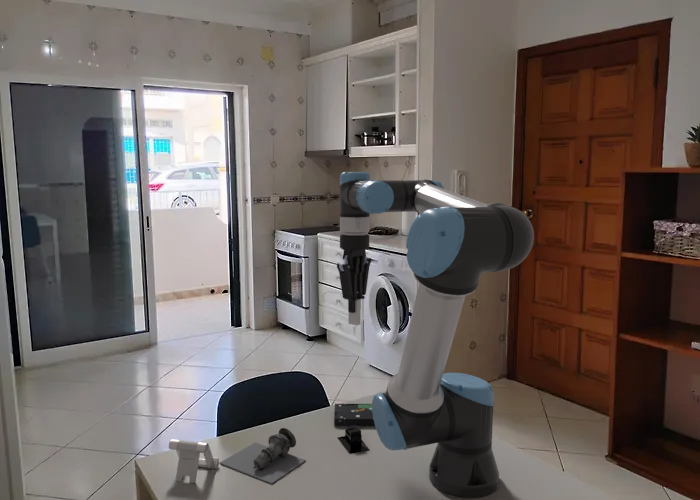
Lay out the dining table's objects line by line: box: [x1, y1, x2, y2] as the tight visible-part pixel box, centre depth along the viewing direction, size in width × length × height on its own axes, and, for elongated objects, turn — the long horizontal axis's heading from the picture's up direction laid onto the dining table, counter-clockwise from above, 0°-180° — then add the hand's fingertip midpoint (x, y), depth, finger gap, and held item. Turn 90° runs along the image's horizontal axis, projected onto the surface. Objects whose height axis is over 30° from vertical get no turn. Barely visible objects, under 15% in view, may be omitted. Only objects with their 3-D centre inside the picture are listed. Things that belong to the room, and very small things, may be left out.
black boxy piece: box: [336, 425, 371, 455], centre depth 143 cm, size 12×7×5 cm, turn 20°
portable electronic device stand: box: [168, 438, 220, 484], centre depth 129 cm, size 9×8×8 cm
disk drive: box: [333, 403, 375, 427], centre depth 158 cm, size 10×3×15 cm
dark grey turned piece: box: [253, 427, 297, 470], centre depth 133 cm, size 6×6×12 cm
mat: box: [219, 442, 307, 485], centre depth 134 cm, size 16×12×1 cm
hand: (354, 323), depth 148 cm, fingers closed
